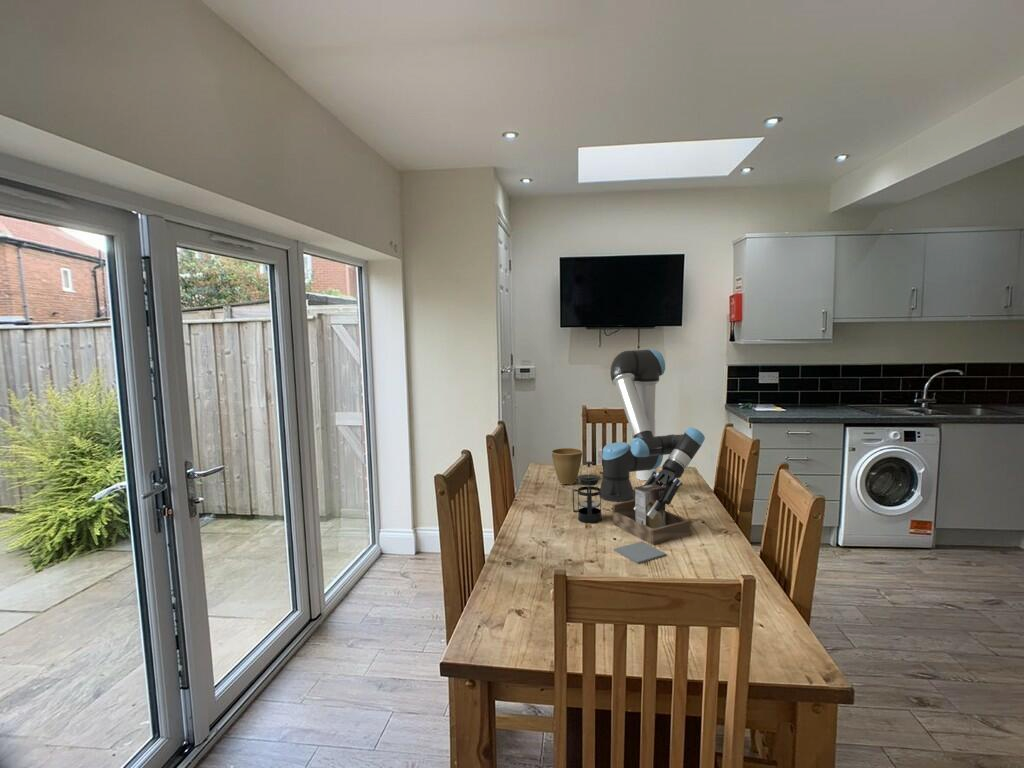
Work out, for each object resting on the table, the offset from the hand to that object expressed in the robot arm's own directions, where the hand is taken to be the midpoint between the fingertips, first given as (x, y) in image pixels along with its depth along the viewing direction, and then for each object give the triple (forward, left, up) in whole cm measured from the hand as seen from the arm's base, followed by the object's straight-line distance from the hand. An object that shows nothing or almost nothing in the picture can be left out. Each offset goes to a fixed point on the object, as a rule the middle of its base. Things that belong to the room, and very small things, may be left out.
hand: (642, 514), depth 194 cm
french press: (-21, -9, -7) cm, 24 cm away
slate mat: (+14, -13, -7) cm, 21 cm away
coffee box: (0, +4, -7) cm, 8 cm away
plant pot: (-67, +11, -7) cm, 68 cm away
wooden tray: (0, +4, -7) cm, 7 cm away
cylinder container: (-53, +48, -7) cm, 71 cm away
